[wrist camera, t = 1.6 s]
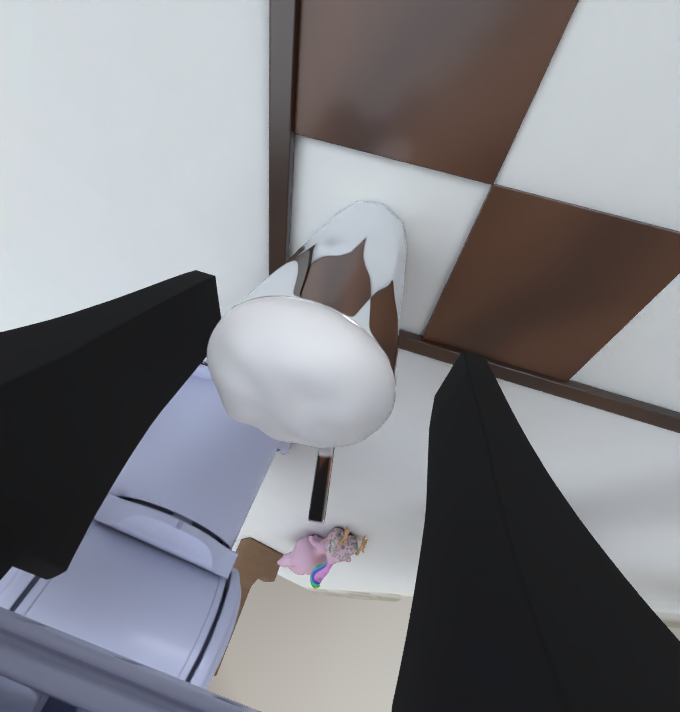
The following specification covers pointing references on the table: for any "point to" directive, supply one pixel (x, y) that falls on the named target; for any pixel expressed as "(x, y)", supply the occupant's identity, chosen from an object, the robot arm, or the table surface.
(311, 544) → the pink animal figurine
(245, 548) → the wooden block
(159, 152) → the table surface
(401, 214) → the table surface
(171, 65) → the table surface
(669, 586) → the table surface
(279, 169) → the chessboard
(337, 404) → the milkshake
